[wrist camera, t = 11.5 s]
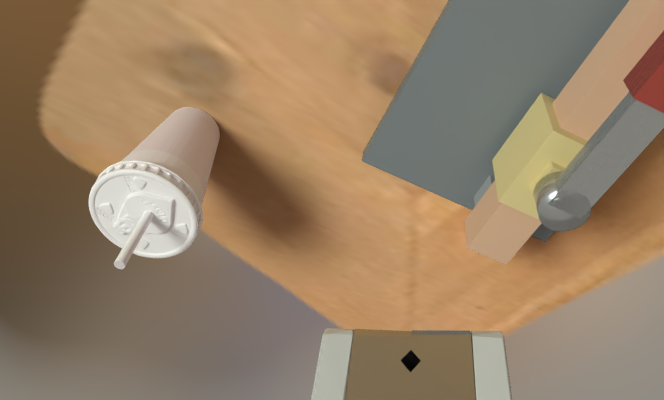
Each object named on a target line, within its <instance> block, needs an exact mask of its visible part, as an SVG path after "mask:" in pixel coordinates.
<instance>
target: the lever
mask: <svg viewBox="0 0 664 400" xmlns="http://www.w3.org/2000/svg"><path fill="white" fill-rule="evenodd" d="M623 81H624V83H625V85H626V87H627V88H628V90H629V92H628V94H627V95H626V96H625V97H624V98H623V100H622V101H621V102H620V103H619V104H618V106H617V107H616V108H615V109H614V110H613V112H612V113H611V114H610V115H609V116H608V118H607V119H606V120H605V121H604V122H603V124H602V125H601V126H600V127H599V128H598V130H597V131H596V132H595V133H594V134H593V136H592V137H591V138H590V139H589V140H588V142H587V143H586V144H585V145H584V146H583V148H582V149H581V150H580V151H579V152H578V154H577V155H576V156H575V157H574V158H573V160H572V161H571V162H570V163H569V165H568V166H567V167H566V168H565V169H564V171H559V172H553V173H550V174H548V175H546V176H544V177H543V178H541V179H540V180H539V181H538V183H537V184H536V186H535V188H534V199H535V203H536V208H537V212H538V216H539V220H540V221H541V223H542V224H543V225H544V226H545V227H547V228H549V229H551V230H554V231H569V230H573V229H576V228H578V227H579V226H581V225H582V224H584V223H585V222H586V221H587V219H588V218H589V216H590V213H591V208H592V206H593V205H594V204H595V203H596V202H597V201H598V200H599V199H600V198H601V197H602V195H603V194H604V193H605V192H606V191H607V190H608V189H609V188H610V187H611V185H612V184H613V183H614V182H615V181H616V180H617V179H618V178H619V177H620V176H621V174H622V173H623V172H624V171H625V170H626V169H627V168H628V167H629V166H630V165H631V163H632V162H633V161H634V160H635V159H636V158H637V157H638V156H639V155H640V154H641V152H642V151H643V150H644V149H645V148H646V147H647V146H648V145H649V144H650V143H651V141H652V140H653V139H654V138H655V137H656V136H657V135H658V134H659V133H660V132H661V130H662V129H663V128H664V31H663V32H662V33H661V34H660V36H659V37H658V38H657V39H656V40H655V42H654V43H653V44H652V45H651V47H650V48H649V49H648V50H647V52H646V53H645V54H644V55H643V56H642V58H641V59H640V60H639V61H638V63H637V64H636V65H635V66H634V67H633V69H632V70H631V71H630V72H629V74H628V75H627V76H626V77H625V79H624V80H623Z"/></svg>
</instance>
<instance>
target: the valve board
mask: <svg viewBox="0 0 664 400" xmlns="http://www.w3.org/2000/svg"><path fill="white" fill-rule="evenodd" d="M663 31H664V0H449V1H448V3H447V5H446V6H445V8H444V10H443V12H442V13H441V15H440V17H439V19H438V20H437V22H436V24H435V26H434V28H433V29H432V31H431V33H430V35H429V36H428V38H427V40H426V42H425V43H424V45H423V47H422V49H421V51H420V52H419V54H418V56H417V58H416V59H415V61H414V63H413V65H412V67H411V68H410V70H409V72H408V74H407V75H406V77H405V79H404V81H403V82H402V84H401V86H400V88H399V90H398V91H397V93H396V95H395V97H394V98H393V100H392V102H391V104H390V105H389V107H388V109H387V111H386V113H385V114H384V116H383V118H382V120H381V121H380V123H379V125H378V127H377V128H376V130H375V132H374V134H373V136H372V137H371V139H370V141H369V143H368V144H367V146H366V148H365V150H364V151H363V157H362V161H363V162H365V163H367V164H369V165H372V166H374V167H376V168H378V169H381V170H383V171H385V172H387V173H390V174H392V175H394V176H397V177H399V178H401V179H403V180H406V181H408V182H410V183H412V184H415V185H417V186H419V187H421V188H424V189H426V190H428V191H431V192H433V193H435V194H437V195H440V196H442V197H444V198H446V199H449V200H451V201H453V202H455V203H458V204H460V205H462V206H464V207H467V208H469V209H471V210H472V211H471V213H470V214H469V215H468V217H467V218H466V219H465V233H466V246H467V249H470V250H472V251H474V252H477V253H479V254H481V255H484V256H486V257H488V258H491V259H493V260H495V261H498V262H500V263H502V264H505V265H506V264H507V263H508V262H509V261H510V260H511V259H512V257H513V256H514V255H515V254H516V253H517V251H518V250H519V249H520V248H521V247H522V246H523V244H524V243H525V242H526V241H527V240H528V239H529V237H530V236H532V237H535V238H537V239H539V240H541V241H544V242H546V240H547V239H548V238H549V237H550V236H551V235H552V234H553V232H554V230H551V229H549V228H547V227H545V226H544V225H543V224H542V223H541V221H540V220H539V216H538V212H537V208H536V203H535V199H534V188H535V186H536V184H537V183H538V181H539V180H540V179H541V178H543V177H544V176H546V175H548V174H550V173H553V172H559V171H564V169H565V168H566V167H567V166H568V165H569V163H570V162H571V161H572V160H573V158H574V157H575V156H576V155H577V154H578V152H579V151H580V150H581V149H582V148H583V146H584V145H585V144H586V143H587V142H588V140H589V139H590V138H591V137H592V136H593V134H594V133H595V132H596V131H597V130H598V128H599V127H600V126H601V125H602V124H603V122H604V121H605V120H606V119H607V118H608V116H609V115H610V114H611V113H612V112H613V110H614V109H615V108H616V107H617V106H618V104H619V103H620V102H621V101H622V100H623V98H624V97H625V96H626V95H627V94H628V92H629V90H628V88H627V87H626V85H625V83H624V81H623V80H624V79H625V77H626V76H627V75H628V74H629V72H630V71H631V70H632V69H633V67H634V66H635V65H636V64H637V63H638V61H639V60H640V59H641V58H642V56H643V55H644V54H645V53H646V52H647V50H648V49H649V48H650V47H651V45H652V44H653V43H654V42H655V40H656V39H657V38H658V37H659V36H660V34H661V33H662V32H663Z"/></svg>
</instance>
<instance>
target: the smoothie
mask: <svg viewBox="0 0 664 400" xmlns="http://www.w3.org/2000/svg"><path fill="white" fill-rule="evenodd" d="M219 139H220V132H219V128H218V125H217V123H216V122H215V120H214V119H213V118H212V117H211V116H210V115H209V114H207V113H206V112H204V111H202V110H200V109H197V108H193V107H183V108H180V109H177V110H176V111H174V112H173V113H172V114H171V115H170V116H169V117H168V118H167V119H166V120H164V121H163V122H162V123H161V124H160V125H159V126H158V127H157V128H156V129H155V130H154V131H153V132H152V133H151V134H150V135H149V136H148V137H147V138H145V139H144V140H143V141H142V142H141V143H140V144H139V145H138V146H137V147H136V148H135V149H134V150H133V151H132V152H131V153H130V154H129V155H128V156H126V157H125V158H124V159H123V160H122V161H121V162H118V163H116V164H113V165H111V166H109V167H108V168H106V169H105V170H104V171H103V172H102V173H101V174H100V175H99V177H98V179H97V181H96V183H95V184H94V185H93V187H92V189H91V191H90V195H89V209H90V213H91V216H92V218H93V221H94V222H95V224H96V226H97V227H98V228H99V230H100V231H101V232H102V233H103V234H104V235H105V237H107V238H108V239H109V240H110V241H111V242H113V243H114V244H115V245H117V246H119V247H120V248H122V250H121V252H120V254H119V256H118V257H117V259H116V260H115V262H114V265H115V267H117V268H119V269H123V268H124V267H125V265H126V264H127V262H128V260H129V259H130V257H131V255H132V253H133V254H136V255H139V256H143V257H149V258H166V257H171V256H175V255H177V254H179V253H181V252H183V251H185V250H186V249H187V248H188V247H189V246H190V245H191V244H192V243H193V241H194V239H195V237H196V235H197V234H198V232H199V231H200V228H201V225H202V221H203V215H202V207H201V206H202V203H203V199H204V195H205V191H206V187H207V184H208V180H209V176H210V173H211V169H212V165H213V161H214V158H215V154H216V150H217V147H218V143H219Z"/></svg>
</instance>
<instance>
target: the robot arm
mask: <svg viewBox="0 0 664 400" xmlns="http://www.w3.org/2000/svg"><path fill="white" fill-rule="evenodd" d="M311 400H512V394H511V386H510V379H509V372H508V364H507V356H506V348H505V340H504V335H503V334H502V332H501V331H471V333H470V331H392V330H366V329H327V328H326V330H325V332H324V334H323V336H322V342H321V348H320V354H319V359H318V364H317V371H316V376H315V381H314V387H313V393H312V398H311Z"/></svg>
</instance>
